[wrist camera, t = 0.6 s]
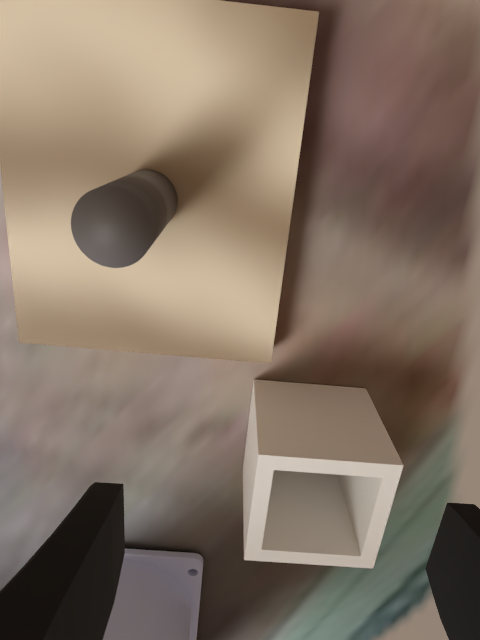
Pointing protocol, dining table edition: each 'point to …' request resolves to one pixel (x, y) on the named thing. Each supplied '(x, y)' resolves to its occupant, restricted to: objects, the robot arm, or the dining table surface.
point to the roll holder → (151, 170)
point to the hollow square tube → (316, 475)
